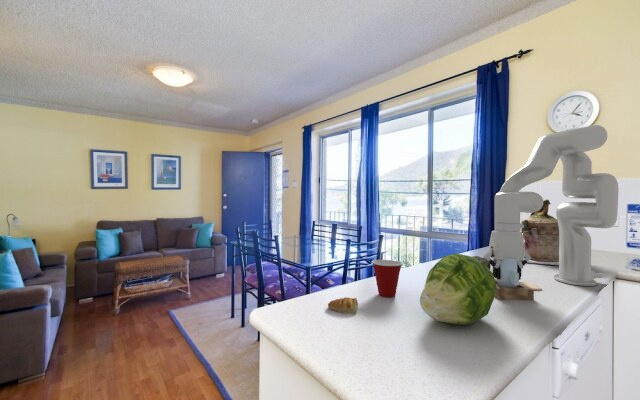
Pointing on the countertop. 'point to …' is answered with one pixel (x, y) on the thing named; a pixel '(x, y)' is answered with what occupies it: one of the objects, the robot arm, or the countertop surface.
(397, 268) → the plastic cup
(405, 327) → the countertop surface
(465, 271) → the lettuce
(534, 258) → the cookie jar
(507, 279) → the pale blue pipe tee
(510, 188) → the robot arm
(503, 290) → the cradle
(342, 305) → the pastry
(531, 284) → the mat
